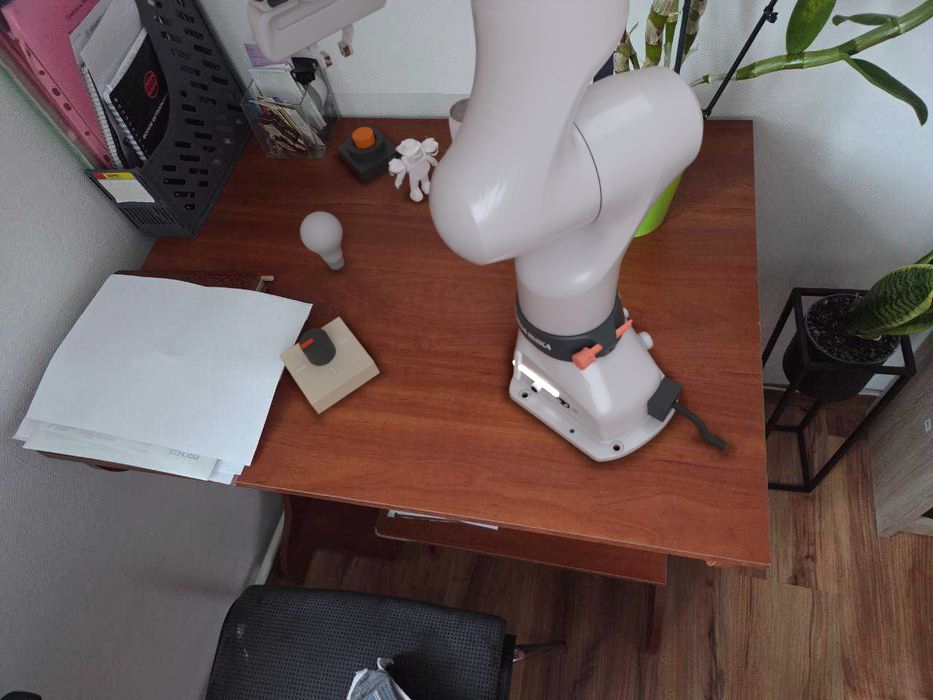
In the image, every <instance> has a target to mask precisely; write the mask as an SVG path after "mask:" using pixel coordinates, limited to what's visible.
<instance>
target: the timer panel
mask: <svg viewBox="0 0 933 700" xmlns="http://www.w3.org/2000/svg"><path fill="white" fill-rule="evenodd" d="M320 329H323V330H324V331H326V333H327V334H328V336H329V338H330V339H331V341H332V343H333V344H334V346H335V348H336V354H335V357H334V358H333V360H332V361H331V362H329V363H328V364H326V365H323V366H316V365H313V364H311V363H310V361H309V360H308V359H307V357H306V356H305V354H304V353H303V351H302V350H301V348H300V347H299V342H296V344H294V345H292V346H291V347H289V348H288V349H286V350H285V351H283V352H282V353H280V354H278V357H279V358H280V360H281V361H282V363H283V364H284V365H285V368H286V370H287V371H288V372H289V373H290V375H291V376H292V378H293V380H294V381H295V383H296V384H297V385H298V387H299V389H300V390H301V392H302V393H303V395H304V396H305V398H306V400H307V401H308V402H309V404H310V405H311V407H312V408H313V409H314V410H315V411H316V413H317V414H318V415H320V414H321V413H323V412H325V411H326V410H327V409H329V408H331V407H332V406H334V405H335V404H336V403H338V402H339V401H340V400H342V399H343V398H346V396H348V395H349V394H351V393H352V392H354V391H355V390H357V389H358V388H360V387H361V386H362V385H364V384H366V383H367V382H368V381H370V380H371V379H373V378H374V377H376V376H377V375H379V374H380V370H379V368H378V366H377V364H376V363H375V361H374V359H373V358H372V357H371V356H370V354H369V353H368V352H367V350H366V348H364V347H363V346H362V344H361V343H360V342H359V340H358V339H357V338H356V336H355V335H354V333H353V332H352V331H351V330H350V328H349V327H348V326H347V325H346V323H345V322H344V321H343V320H342V318H341V317H340V316H338V317H336V318H334V319H333V320H331V321H330V322H328V323H326V324H325V325H323V326H322V327H321V328H320Z"/></svg>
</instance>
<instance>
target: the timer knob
mask: <svg viewBox="0 0 933 700" xmlns="http://www.w3.org/2000/svg"><path fill="white" fill-rule="evenodd" d="M298 343H299V347H300V348H301V350H302V351H303V353H304V354H305V356H306V357H307V359H308V360H309V361H310V363H311V364H313V365H316V366H323V365H326V364H328V363H329V362H331V361H332V360H333V358H334V357H335V354H336V348H335V346H334V344H333V343H332V341H331V339H330V338H329V336H328V334H327V333H326V331H324V330H323V329H321V328H320V327H312V328H310V329H308V330H306V331H305V332H304V333H303V334H302V335H301V336H300V338H299V341H298Z"/></svg>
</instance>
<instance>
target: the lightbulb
mask: <svg viewBox="0 0 933 700" xmlns="http://www.w3.org/2000/svg"><path fill="white" fill-rule="evenodd" d="M299 235H300V239H301V241H302V243H303V245H304V246H305V247H306V248H307V249H308V250H309V251H310V252H313V253H315V254H317V255H318V256H319V257H321V258H322V260H323V261H324V262H325V263H326V264H327V266H328V267H329V268H330V269H331V270H333V271H338V270H341V269H342V268H344V265H345V262H346V261H345V259H344V258H345V257H344V256H343V250H342V247H341V245H342V241H343V227H342V224H341V222H340V221H339V220H338V218H337V217H336V216H335V215H334V214H331V213H330V212H327V211H320V210H319V211H314V212H312V213H310V214H308V215H306V216H305V218H304V219H303V221H302V222H301V224H300V228H299Z"/></svg>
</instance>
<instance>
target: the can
mask: <svg viewBox="0 0 933 700" xmlns="http://www.w3.org/2000/svg"><path fill="white" fill-rule="evenodd" d="M469 98H470V97H467V98H462V99H460V100H457V101H456V102H454V103H453V104H452V106H450V109H449V117H448V126H449V132H450V137H451V143H452V142H453V140H454V138H455V136H456V135H457V132H458V130H459V128H460V125H461V123H462V121H463V118H464V115H465V112H466V109H467V106H468V102H469Z"/></svg>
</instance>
